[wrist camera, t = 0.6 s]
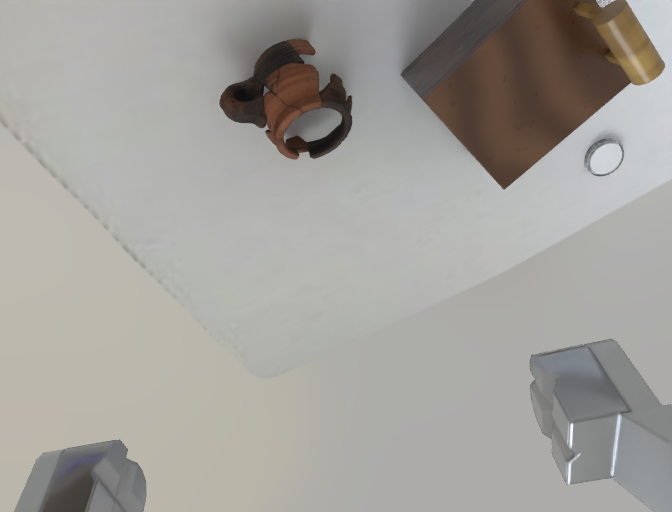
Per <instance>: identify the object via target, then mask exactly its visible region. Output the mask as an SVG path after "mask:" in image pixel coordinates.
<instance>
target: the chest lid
mask: <svg viewBox="0 0 672 512" xmlns="http://www.w3.org/2000/svg"><path fill="white" fill-rule="evenodd" d="M664 67H665V64H664V62H663V60H662V58H661V57H660V55H659V54H658V52H657V50H656V49H655V47H654V45H653V44H652V42H651V41H650V39H649V37H648V36H647V34H646V32H645V31H644V29H643V27H642V26H641V24H640V23H639V21H638V19H637V18H636V16H635V14H634V13H633V11H632V10H631V8H630V6H629V5H628V3H627V1H626V0H616V1H614V2H612V3H610V4H608V5H607V6H605V7H604V8H602V7H599V5H598V3H597V2H596V0H523V1H522V2H521V3H520V4H519V5H518V6H517V7H516V8H515V9H514V10H513V11H512V12H511V13H510V14H509V15H508V16H507V17H505V18H504V19H503V20H502V21H501V22H500V23H499V24H498V25H497V26H496V27H495V28H494V29H493V30H492V31H491V32H490V33H489V34H488V35H487V36H486V37H485V38H484V39H482V40H481V41H480V42H479V43H478V44H477V45H476V46H475V47H474V48H473V49H472V50H471V51H470V52H469V53H468V54H467V55H466V56H465V57H464V58H463V59H462V60H461V61H459V62H458V63H457V64H456V65H455V66H454V67H453V68H452V69H451V70H450V71H449V72H448V73H447V74H446V75H445V76H444V77H443V78H442V79H441V80H440V81H439V82H438V83H436V84H435V85H434V86H433V87H432V88H431V89H430V90H429V91H428V92H427V93H426V94H425V95H424V96H423V97H422V100H423V101H424V102H425V103H426V104H427V105H428V106H429V108H430V109H431V110H432V111H433V112H434V113H435V114H436V115H437V116H438V117H439V119H440V120H441V121H442V122H443V123H444V124H445V125H446V126H447V127H448V129H449V130H450V131H451V132H452V133H453V134H454V135H455V136H456V137H457V139H458V140H459V141H460V142H461V143H462V144H463V145H464V146H465V147H466V148H467V150H468V151H469V152H470V153H471V154H472V155H473V156H474V157H475V158H476V160H477V161H478V162H479V163H480V164H481V165H482V166H483V167H484V168H485V170H486V171H487V172H488V173H489V174H490V175H491V176H492V177H493V178H494V179H495V181H496V182H497V183H498V184H499V185H500V186H501V187H502V188H503V189H506V188H507V187H508V186H509V185H510V184H512V183H513V182H514V181H515V180H516V179H517V178H519V177H520V176H521V175H522V174H523V173H525V172H526V171H527V170H528V169H529V168H530V167H532V166H533V165H534V164H535V163H536V162H538V161H539V160H540V159H541V158H542V157H543V156H545V155H546V154H547V153H548V152H549V151H551V150H552V149H553V148H554V147H555V146H556V145H558V144H559V143H560V142H561V141H562V140H564V139H565V138H566V137H567V136H568V135H569V134H571V133H572V132H573V131H574V130H575V129H577V128H578V127H579V126H580V125H581V124H582V123H584V122H585V121H586V120H587V119H588V118H590V117H591V116H592V115H593V114H594V113H595V112H597V111H598V110H599V109H600V108H601V107H603V106H604V105H605V104H606V103H607V102H608V101H610V100H611V99H612V98H613V97H614V96H616V95H617V94H618V93H619V92H620V91H621V90H623V89H624V88H625V87H626V86H627V85H629V84H630V83H631V82H632V84H634V85H643V84H646V83H648V82H650V81H652V80H654V79H655V78H656V77H658V76H659V75H660V74H661V73H662V71H663V70H664Z"/></svg>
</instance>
